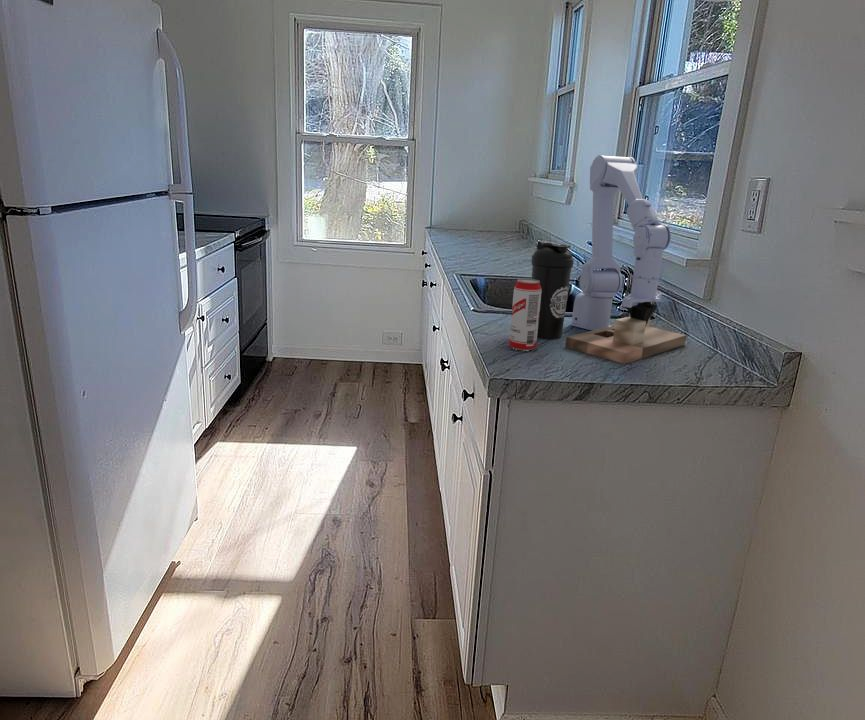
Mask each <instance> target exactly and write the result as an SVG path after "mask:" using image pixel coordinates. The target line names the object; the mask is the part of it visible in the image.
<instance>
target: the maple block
mask: <svg viewBox="0 0 865 720" xmlns="http://www.w3.org/2000/svg"><path fill="white" fill-rule="evenodd" d="M614 325H615V329H614V336H613V340H614V341H618V342H622V343H625V344H629V345H634V344H638V343H641V342H643V339H644V332H645V326H646V321H643V320H638V319H634V318H630V317H629V316H625V317H621V318H617V319H615V323H614Z"/></svg>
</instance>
